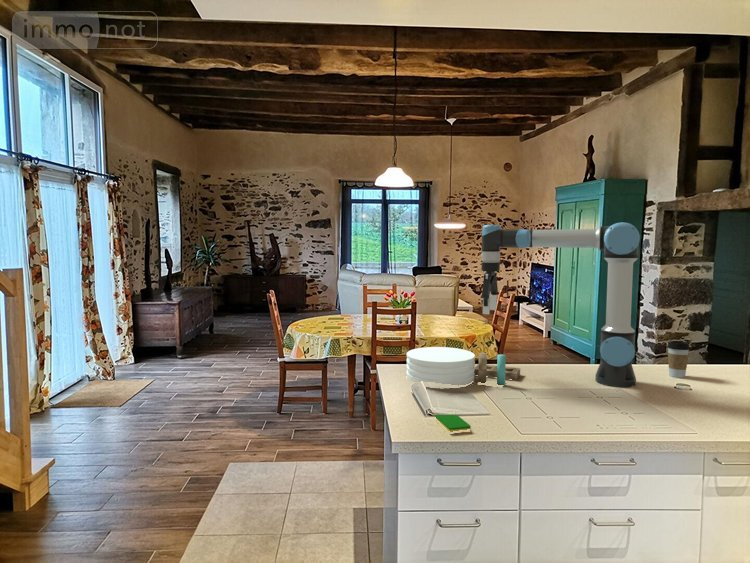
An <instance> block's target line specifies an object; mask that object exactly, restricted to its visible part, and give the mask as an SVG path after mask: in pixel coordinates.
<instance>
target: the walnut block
mask: <svg viewBox="0 0 750 563" xmlns="http://www.w3.org/2000/svg"><path fill="white" fill-rule="evenodd" d="M474 367H475V371H474V373H475V375H478V372H479V363H478V364H477V365H476V366H474ZM519 375H520V376H521V368H520V367H510V366H505V379H512V380H518V379H519V378H520V376H519ZM487 376H488V377H497V365H494V364H493V365H492V364H487ZM518 377H519V378H518ZM517 378H518V379H517ZM512 380H511V381H512Z"/></svg>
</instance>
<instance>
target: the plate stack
mask: <svg viewBox="0 0 750 563" xmlns="http://www.w3.org/2000/svg"><path fill="white" fill-rule="evenodd" d="M475 365H476V355H475V352H472V351H470V350H467V349H462V348H456V347H448V346H447V347H446V346H429V347H428V346H427V347H418V348H413V349H410V350H408V351H407V352H406V378H407V377H409V379H410V380H411V381H413V382H421V381H424V382H435V383H442V384H451V385H458V386H459V385H466V384H469V383H471V382H472V381H473V382H474V379H475V377H476V376H475V373H474V371H475V367H476V366H475ZM473 382H472V383H473ZM474 383H475V382H474Z"/></svg>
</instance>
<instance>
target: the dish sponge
mask: <svg viewBox="0 0 750 563" xmlns="http://www.w3.org/2000/svg"><path fill="white" fill-rule="evenodd" d="M433 416H435V417H436V419H437V420H438V421H439V422H440V423H441V424H442V425H443V426H444V427H445V428H446V429H447V430H448V431H450V432H453V431H459V430H467V429H471V430H472V426H471V425H470V424H469V423H468V422H466V421H465V420H464V419H463V418H461V417H460V415H458V414H457V415H433Z"/></svg>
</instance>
